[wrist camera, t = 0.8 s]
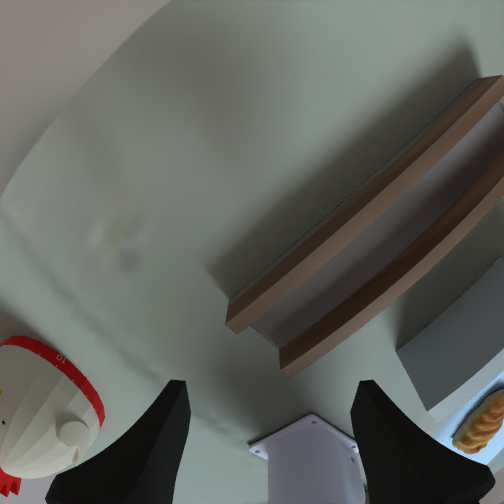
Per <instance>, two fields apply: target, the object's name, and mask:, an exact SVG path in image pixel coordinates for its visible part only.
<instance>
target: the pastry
mask: <svg viewBox="0 0 504 504" xmlns="http://www.w3.org/2000/svg"><path fill="white" fill-rule="evenodd" d="M503 419H504V389H501V390H499V391H496V392H494V393H492V394H490V395H489V396H487V397H486V398H485V399H484V400H483V402H482V403H481V404H480V405H479V406H478V407H477V408H476V409H475V410H474V411H472V412H471V413H470V414H469V415H468V418H467V419H466V420H465V421H464V423H463V424H462V425H461V426H460V427H459V429H458V430H457V432H456V433H455V435H454V437H453V440H452V444H453V446H454V447H457V448H458V450H461V451H463V452H464V453H466V454H475V453H478V452H479V451H480V450H481V449H482V448H485V447H486V445H487V443H488V441H489V440H490V439H492V438H493V436H494V435H495V434H496V433H497V432H498V431H499V429H500V428H501V426H502V421H503Z"/></svg>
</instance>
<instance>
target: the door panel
mask: <svg viewBox="0 0 504 504" xmlns="http://www.w3.org/2000/svg"><path fill="white" fill-rule="evenodd" d="M396 353H397V355H398V357H399V359H400V361H401V363H402V364H403V366H404V368H405V370H406V372H407V374H408V376H409V378H410V379H411V381H412V383H413V385H414V387H415V389H416V391H417V393H418V395H419V397H420V399H421V401H422V403H423V405H424V407H425V409H426V411H427V412H428V413H429V414H430V415H431V417H432V418H433V419H434V420H435V421H436V422H437V423H439V422H441V421H442V420H444V419H445V418H446V417H448V416H449V415H450V414H452V413H453V412H454V411H456V410H457V409H458V408H460V407H461V406H462V405H464V404H465V403H466V402H467V401H469V400H470V399H471V398H472V397H474V396H475V395H476V394H477V393H478V392H480V391H481V390H482V389H483V388H484V387H486V386H487V385H488V384H489V383H490V382H491V381H492V380H494V379H495V378H496V377H497V376H498V375H499V374H500V373H501V372H502V371H503V370H504V258H502V257H499V258H498V259H497V260H496V261H495V263H494V264H493V265H492V266H491V267H490V268H489V269H488V270H487V271H486V272H485V273H484V274H483V275H482V276H481V277H480V278H479V279H478V280H477V281H476V282H475V283H474V284H473V285H472V286H471V287H470V288H469V289H468V290H467V291H466V292H465V293H464V294H463V295H462V296H461V297H460V298H459V299H457V300H456V301H455V302H454V303H453V304H452V305H451V306H450V307H449V308H448V309H446V310H445V311H444V312H443V313H442V314H441V315H440V316H439V317H437V318H436V319H435V320H434V321H433V322H432V323H430V324H429V325H428V326H427V327H426V328H425V329H423V330H422V331H421V332H420V333H418V334H417V335H416V336H415V337H414V338H412V339H411V340H410V341H409V342H407V343H406V344H405V345H404V346H402V347H401V348H400V349H398V350H397V351H396Z"/></svg>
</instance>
